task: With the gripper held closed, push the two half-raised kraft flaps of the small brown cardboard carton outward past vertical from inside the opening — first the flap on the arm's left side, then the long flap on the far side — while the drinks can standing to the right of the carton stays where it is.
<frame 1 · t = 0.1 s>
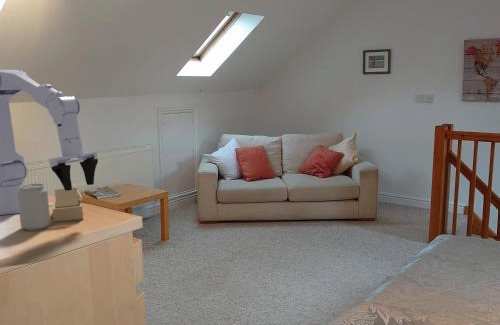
hand: (79, 187, 133), 11 cm above the table, tool pointing down, fingers open, 7 cm apart
can: (36, 228, 132), on the table
side flap: (77, 191, 143), point 7 cm above the table, hinge at 65.0°
long flap: (66, 197, 137), point 7 cm above the table, hinge at 65.0°
carton: (68, 216, 142), on the table
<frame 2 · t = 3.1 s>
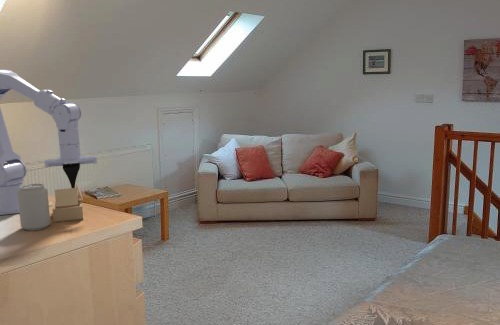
hand: (73, 188, 143), 8 cm above the table, tool pointing down, fingers closed
side flap: (79, 191, 143), point 7 cm above the table, hinge at 75.0°, touching gripper
everything else where it was.
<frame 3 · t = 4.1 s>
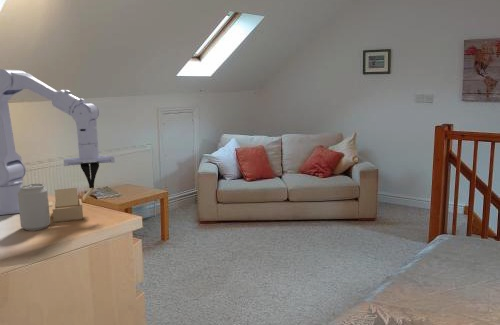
hand: (91, 187, 145), 8 cm above the table, tool pointing down, fingers closed
side flap: (88, 192, 145), point 6 cm above the table, hinge at 136.8°, touching gripper
everything else where it was.
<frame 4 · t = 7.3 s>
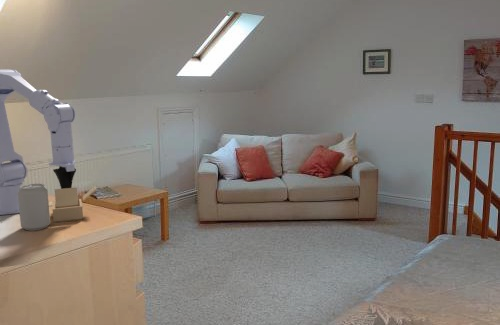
hand: (66, 192, 138), 8 cm above the table, tool pointing down, fingers closed
side flap: (89, 193, 145), point 6 cm above the table, hinge at 140.4°
long flap: (66, 197, 136), point 7 cm above the table, hinge at 76.6°, touching gripper
everything else where it was.
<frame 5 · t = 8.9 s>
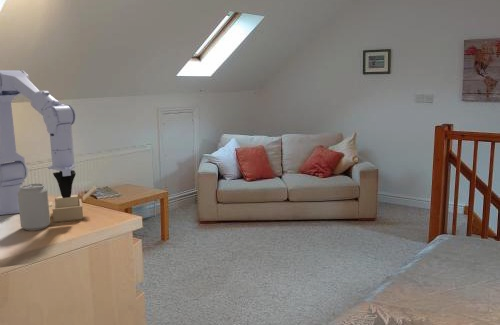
hand: (66, 197, 132), 8 cm above the table, tool pointing down, fingers closed
long flap: (66, 202, 134), point 6 cm above the table, hinge at 139.4°, touching gripper
everything else where it was.
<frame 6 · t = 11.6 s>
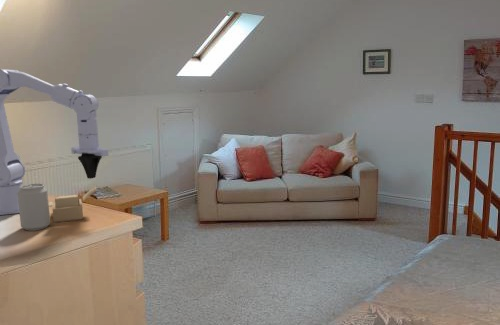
hand: (91, 177, 147), 10 cm above the table, tool pointing down, fingers closed
long flap: (66, 202, 134), point 6 cm above the table, hinge at 139.4°
everything else where it was.
at the end: side flap at +140° (first picture: +65°); long flap at +139° (first picture: +65°); can moved 0.2 cm from its start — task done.
